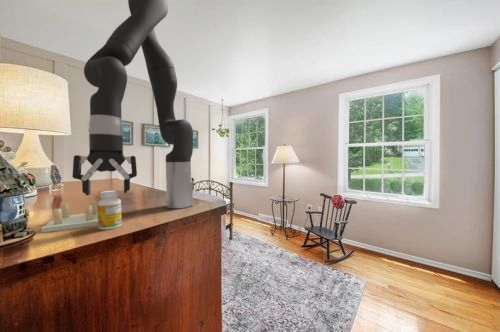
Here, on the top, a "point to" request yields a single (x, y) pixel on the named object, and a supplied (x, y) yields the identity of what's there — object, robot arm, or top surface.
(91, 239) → the top surface
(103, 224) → the supplement bottle
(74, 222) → the standoff chassis
